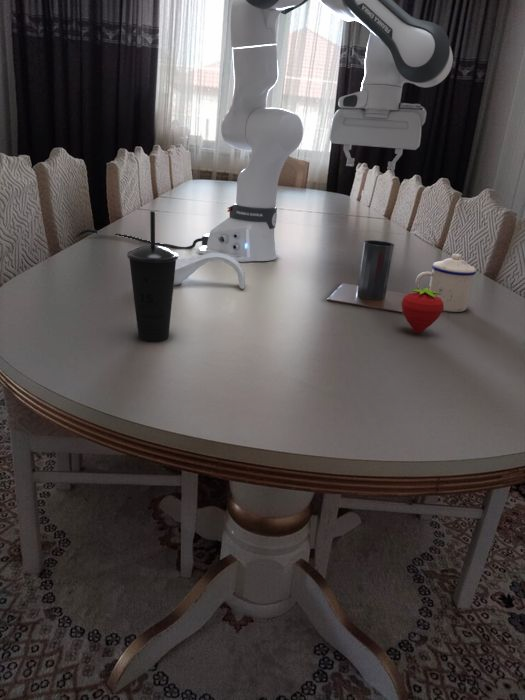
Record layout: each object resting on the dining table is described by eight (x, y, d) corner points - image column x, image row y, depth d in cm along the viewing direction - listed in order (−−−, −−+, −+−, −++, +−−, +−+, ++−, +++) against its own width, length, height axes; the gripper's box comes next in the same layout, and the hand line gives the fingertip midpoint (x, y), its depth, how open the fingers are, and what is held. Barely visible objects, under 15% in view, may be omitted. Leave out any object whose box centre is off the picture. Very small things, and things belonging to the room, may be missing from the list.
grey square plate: (326, 300, 112) (327, 298, 112) (342, 284, 126) (342, 283, 126) (401, 313, 108) (402, 311, 107) (409, 295, 122) (409, 293, 122)
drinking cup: (132, 327, 88) (130, 206, 81) (178, 329, 89) (180, 210, 81) (125, 344, 81) (122, 213, 73) (175, 346, 82) (176, 216, 74)
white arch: (134, 287, 111) (133, 253, 108) (145, 274, 122) (144, 243, 119) (244, 294, 112) (246, 261, 109) (245, 280, 123) (247, 250, 120)
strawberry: (394, 325, 100) (404, 274, 96) (434, 329, 99) (445, 279, 95) (398, 335, 94) (408, 282, 91) (440, 340, 94) (452, 286, 90)
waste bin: (354, 297, 115) (362, 243, 111) (359, 290, 121) (367, 239, 116) (383, 302, 113) (392, 247, 109) (387, 295, 119) (395, 242, 114)
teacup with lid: (461, 302, 119) (473, 252, 115) (472, 314, 110) (484, 260, 106) (408, 297, 120) (418, 247, 116) (415, 309, 111) (425, 255, 107)
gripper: (429, 105, 114) (417, 172, 119) (338, 100, 120) (330, 164, 125) (427, 102, 108) (414, 172, 113) (331, 97, 114) (324, 164, 119)
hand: (370, 168), depth 119 cm, fingers open, 8 cm apart
